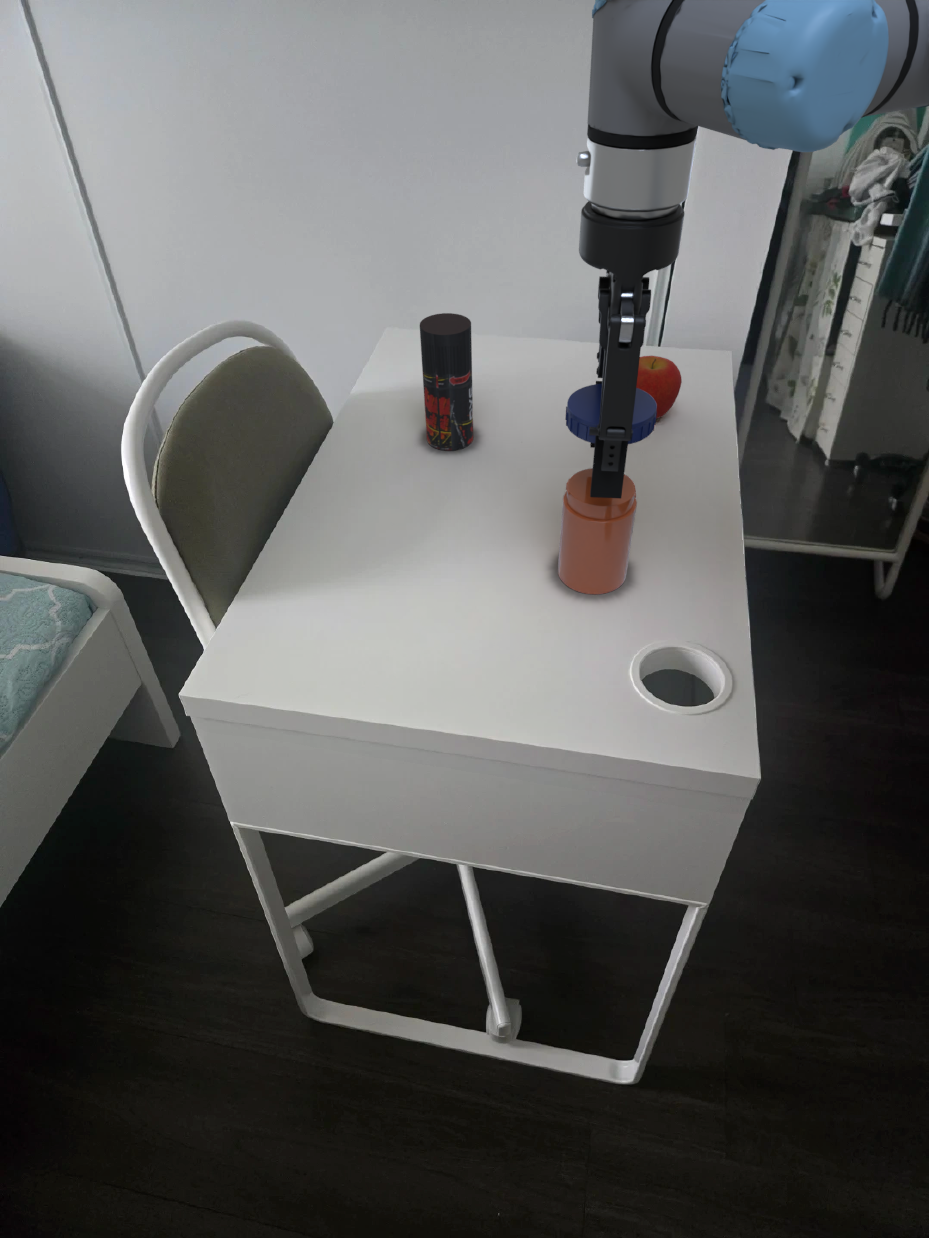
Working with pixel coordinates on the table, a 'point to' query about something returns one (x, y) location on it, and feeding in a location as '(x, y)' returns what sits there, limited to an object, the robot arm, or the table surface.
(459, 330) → the deodorant
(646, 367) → the apple
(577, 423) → the jar lid
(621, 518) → the jam jar
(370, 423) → the table surface
